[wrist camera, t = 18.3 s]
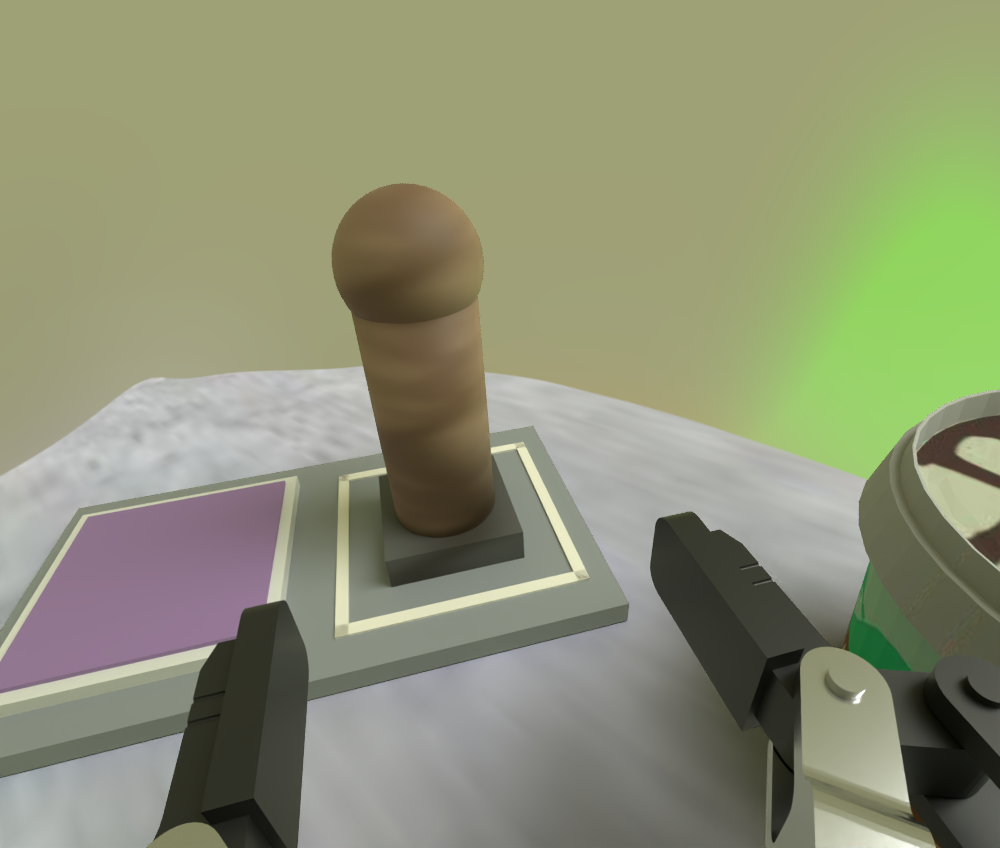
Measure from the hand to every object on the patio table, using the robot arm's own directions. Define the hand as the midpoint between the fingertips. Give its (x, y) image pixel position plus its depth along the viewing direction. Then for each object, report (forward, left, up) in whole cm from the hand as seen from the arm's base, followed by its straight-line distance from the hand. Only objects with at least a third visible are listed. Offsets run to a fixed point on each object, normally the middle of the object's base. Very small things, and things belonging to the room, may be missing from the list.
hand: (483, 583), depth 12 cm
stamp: (0, +10, -8) cm, 13 cm away
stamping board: (-6, +11, -9) cm, 15 cm away
